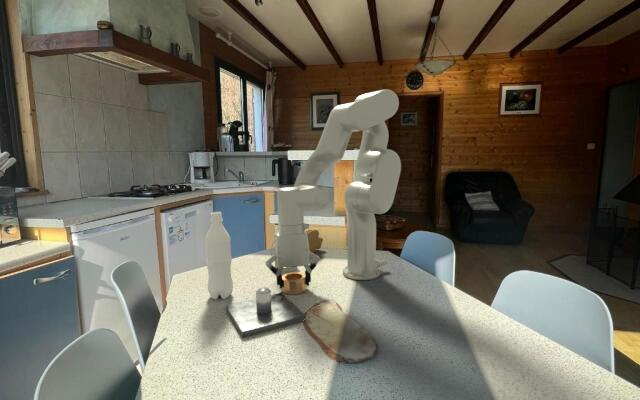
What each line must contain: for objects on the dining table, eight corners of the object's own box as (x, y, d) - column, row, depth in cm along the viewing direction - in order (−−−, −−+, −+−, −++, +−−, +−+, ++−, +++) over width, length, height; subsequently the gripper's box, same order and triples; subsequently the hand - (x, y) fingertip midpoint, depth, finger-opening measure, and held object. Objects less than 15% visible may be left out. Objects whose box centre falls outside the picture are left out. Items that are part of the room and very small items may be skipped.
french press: (305, 269, 125) (304, 200, 121) (285, 280, 115) (283, 205, 111) (283, 265, 130) (281, 198, 126) (262, 274, 120) (259, 202, 117)
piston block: (281, 297, 102) (280, 274, 101) (305, 320, 88) (304, 293, 87) (225, 310, 94) (224, 285, 93) (242, 338, 80) (241, 308, 79)
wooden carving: (314, 248, 152) (314, 225, 150) (323, 249, 149) (323, 226, 148) (292, 258, 138) (292, 233, 136) (302, 260, 135) (302, 235, 134)
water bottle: (226, 302, 99) (221, 215, 96) (203, 300, 101) (197, 214, 97) (237, 292, 106) (233, 210, 103) (215, 290, 108) (210, 210, 104)
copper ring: (299, 282, 112) (299, 270, 111) (310, 290, 106) (309, 277, 105) (278, 287, 109) (278, 275, 108) (288, 296, 102) (287, 283, 102)
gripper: (318, 224, 109) (320, 278, 112) (261, 228, 106) (264, 283, 109) (322, 229, 102) (324, 287, 105) (262, 234, 99) (265, 293, 102)
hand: (294, 285), depth 107 cm, fingers closed on copper ring, 7 cm apart
